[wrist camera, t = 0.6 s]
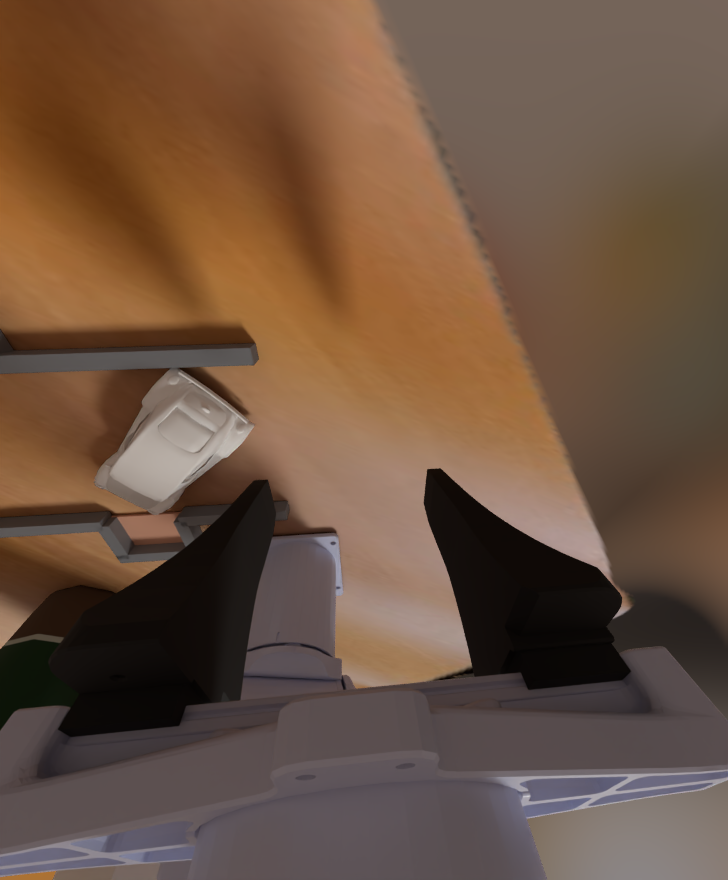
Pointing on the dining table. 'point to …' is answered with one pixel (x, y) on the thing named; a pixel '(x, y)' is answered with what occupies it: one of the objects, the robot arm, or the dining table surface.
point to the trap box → (121, 532)
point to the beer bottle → (42, 652)
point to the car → (172, 442)
